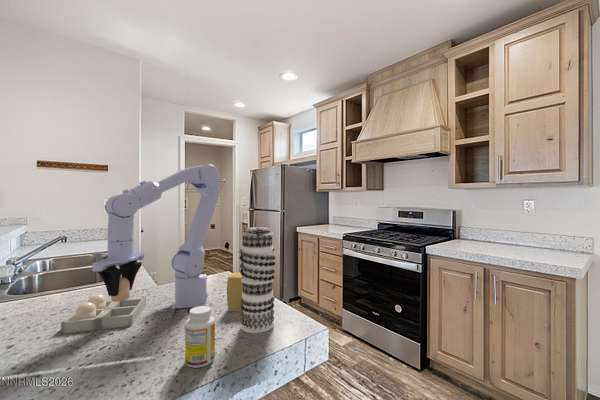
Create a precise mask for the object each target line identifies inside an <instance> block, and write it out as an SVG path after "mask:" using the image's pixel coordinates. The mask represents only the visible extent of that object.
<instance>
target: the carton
mask: <svg viewBox="0 0 600 400" xmlns="http://www.w3.org/2000/svg"><path fill="white" fill-rule="evenodd" d="M146 306H147V298H146V297H139V298H138V297H137V298H129V299H127V300H124V301H119V302H113V301H111V300H106V308H105V309H96V317H95V318H91V319H80V320H76V311H75V312H73V313H72V314H70V315H69V316H68V317H66V318H65V319H64V320H62V321H61V322H60V333H61V334H68V333H77V332H86V331H96V330H105V329H113V328H114V329H115V328H124V327H132V326H133V325H134V323H135V322H136V320H137V319H138V318H139V316H140V315H141V313H142V312H143V311H144V309H145V308H146Z"/></svg>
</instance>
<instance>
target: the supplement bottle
mask: <svg viewBox="0 0 600 400" xmlns="http://www.w3.org/2000/svg"><path fill="white" fill-rule="evenodd" d="M211 314H212V312H211V307H210V306H207V305H205V306H198V307H191V308H190V310H189V315H188V317H189V318H188V319H187V320H186V321H185V323H184V329H185V331H184V341H185V342H184V349H185V350H184V353H185V355H184V361H185V364H186V366H188V367H189V368H194V369H197V368H203V367H206V366H208V365H210V364H211V363H212V362H213V361H214V359H215V356H216V354H215V353H216V351H215V350H216V344H215V343H216V341H215V340H216V336H215V335H216V333H215V329H216V328H215V326H216V325H215V324H216V322H215V321H216V320H215V317H214V316H212V315H211Z"/></svg>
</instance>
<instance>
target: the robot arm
mask: <svg viewBox="0 0 600 400" xmlns="http://www.w3.org/2000/svg"><path fill="white" fill-rule="evenodd" d="M220 179H221V174H220V172H219V169H218V168H217V166H215V165H214V164H212V163H205V164H201V165H193V166H190V167H188V168H184V169H181V170H179V171H177V172H175V173H173V174H170V175H169V176H167V177H165V178H163V179H160V180H159V181H157V182H155V181H152V180H148V181H146V180H142V181H139V185H137V186H134V187H133V188H130V189H128V188H127V189H123V190H122V193H121V194H116V195H112V196H110V197H109V198H108V199H107V201H106V202H105V205H103V206H104V210H105V212H106V213H107V214H108V217H107V218H108V221H107V257H106V258H104V259H101V260H99V261H96V262H92V264H91V265H92V266H91V267H92V270H91V271H92V272H97V274H98V275H99V276H100V277H101V279H102V281H103V283H104V286H105V289H106V290H107V291H106V292H107V295H108V297H111V296H117V295H118V292H119V281H120V277H124V278H127V279H128V280H129V282H130V291H132V289H133V286H134V283H135V279H136V276H137V274H138V273H139V270H140V269H141V267H142V266H143V265H142V262H141V261H142V260H145V252H134V248H135V247H134V246H135V245H134V243H135V241H134V240H135V232H134V231H135V221H134V220H135V214H136V213H137V212H138V210H141V209H142V208H144V207H146V206H148V205H150V204H153V203H154V202H156V201H158V200H160V199H161V198H162V195H163V193H165V192H167V191H169V190H171V189H174V188H176V187H178V186H180V185H182V184H184V183H185V184H188V183H190V184H191V186H193V187H194V188H195V189H196V190H197V192H198V193H199V195H200V199H199V202H198V204H197V206H196V210H195V214H194V216H193V219H192V222H191V225H190V227H189V230H188V232H187V236H186V238H185V242H184V243H182V244H181V245H180V246H179V247H178V250H177V252H176V253H175V254H174V255H173V257H172V258H171V263H170V265H171V268H172V269H173V270H174V301H173V303H172V305H171V309H175V310H177V309H187V308H194V307H198V306H207V305H206V304H207V298H208V291H207V290H208V289H207V286H208V285H207V283H208V282H207V281H208V280H207V279H208V277H207V274H206V273H202V272H203V270H204V268H205V257H206V252H205V249H204V247H203V246H204V243H205V240H206V237H207V234H208V230H209V228H210V225H211V222H212V219H213V216H214V214H215V213H214V212H215V211H216V210H215V209H216V208H217V204H218V201H219V199H220V184H219V182H220ZM118 267H119V268H118Z"/></svg>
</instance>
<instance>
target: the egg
mask: <svg viewBox="0 0 600 400" xmlns="http://www.w3.org/2000/svg"><path fill="white" fill-rule="evenodd" d="M130 291H131V290H130V282H129V280H128V279H127V278H124V277H122V276H121V277H120V281H119V292H118V295H117V296H110V299H111V300H110V301H113V302H119V301H124V300H127V299H130Z"/></svg>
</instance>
